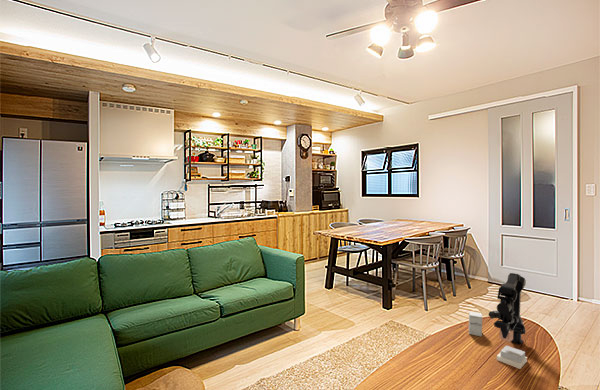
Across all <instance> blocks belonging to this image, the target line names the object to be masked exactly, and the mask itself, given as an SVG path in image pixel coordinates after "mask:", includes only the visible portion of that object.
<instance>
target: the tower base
mask: <svg viewBox="0 0 600 390" xmlns="http://www.w3.org/2000/svg"><path fill="white" fill-rule="evenodd" d="M500 353H501V351H500V352H499V353H498V354H497V355H496V361H498V362H501V363H504V364H505V365H509V366H512V367H514V368H516V369H519V370H520V369H522V367H524V366H525V364H526V363H527V362H528V357H527V356H525V358H524V359H523V360H522V361H521V363H517V362H515V361H512V360H509V359H506V358H504V357H501V356H500Z"/></svg>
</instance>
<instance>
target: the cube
mask: <svg viewBox="0 0 600 390" xmlns="http://www.w3.org/2000/svg"><path fill="white" fill-rule="evenodd" d="M498 337H499V340H502V341H505V342H508V343H512V342H511V341H512V340H513V330H510V331H509V333H508V335H507V337H506V339H505V338H503V335H502V332H501V329H500V328H499V336H498Z"/></svg>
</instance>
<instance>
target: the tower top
mask: <svg viewBox="0 0 600 390" xmlns="http://www.w3.org/2000/svg"><path fill="white" fill-rule="evenodd" d="M500 352H501V353H500ZM500 352H499V353H500V356H501V357H504V358H506V359H509V360H512V361H515V362H517V363H521V361H522V360H523V359H524V358H525V357H526V351H524V350H521V349H519V348H514V347H512V346H509V345H505V346H504V347H503V348H502V349H500Z"/></svg>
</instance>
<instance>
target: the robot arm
mask: <svg viewBox="0 0 600 390" xmlns="http://www.w3.org/2000/svg"><path fill="white" fill-rule="evenodd" d="M526 281H527V280H526V278H525V277H523V276H522V275H521V274H519V273H514V272H509V273H508V276H507V280H506V282H505V283H503V284H501V285H500V286H499V287H498V292H497V297H496V298H497V300H500V301H499V303H498V304H497V305H496V310H490V311H489V312H488V317H489V318H490V319H491V320H493V319H498V320H496V321H495V322H493V327H495V328H498V329H499V330H500V329H501V332H502V335H503V338H505V339H506V337H507V335H508V333H509V331H510V330H513V340H512V341H511V342H510V343H515V344H516V345H517V344H518V345H521V344H523V342H524V339H522V335H526V327H525V324H524V320H523V318H522V317H521V302H522V301H521V299H522V298H521V296H522V295H521V293H522V291H523V290H524V288H525V286H526Z"/></svg>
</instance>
